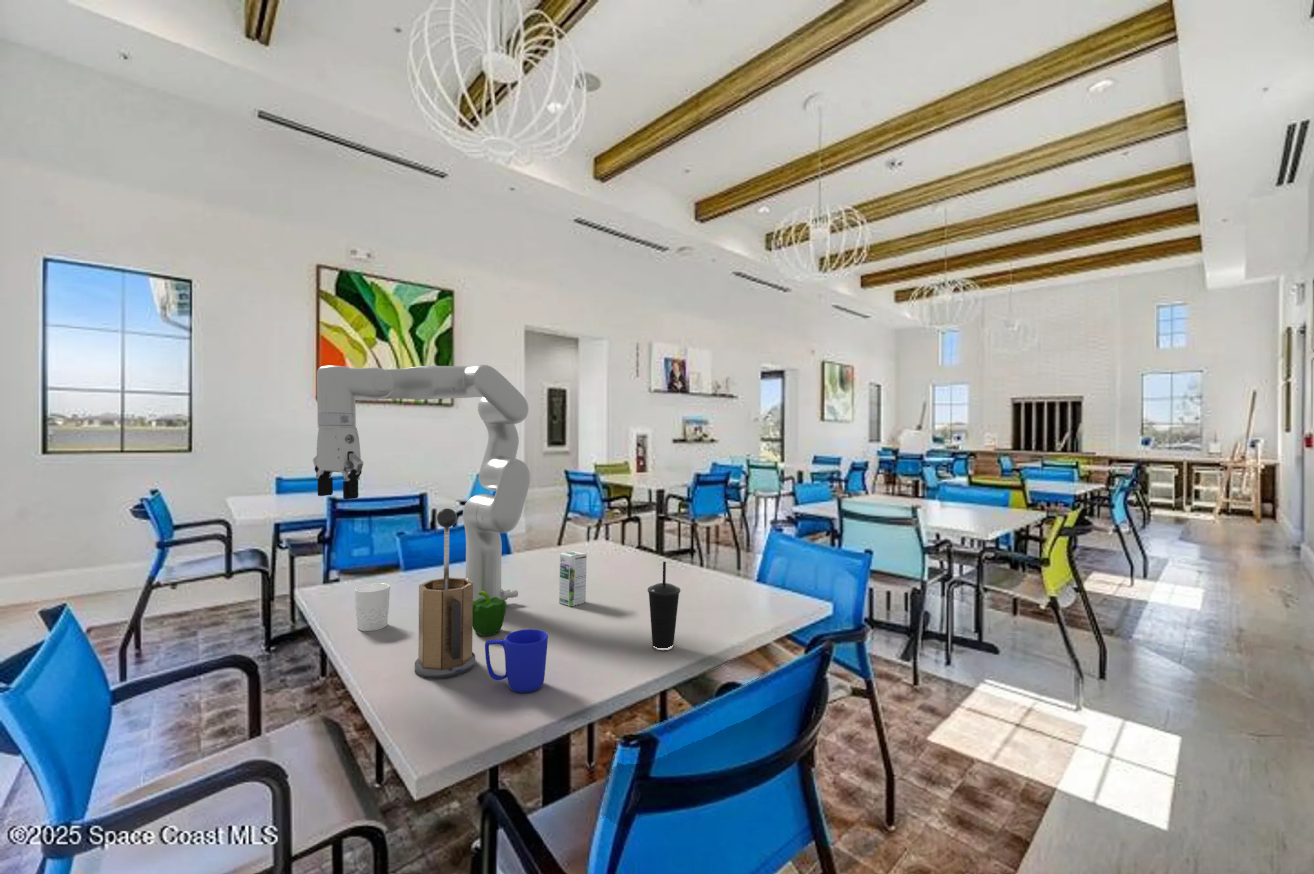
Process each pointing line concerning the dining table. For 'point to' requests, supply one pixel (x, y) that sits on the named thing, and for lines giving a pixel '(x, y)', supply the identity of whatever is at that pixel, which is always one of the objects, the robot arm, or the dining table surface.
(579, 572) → the syrup box
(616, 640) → the dining table surface
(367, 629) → the white cup
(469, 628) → the tan octagonal hollow container
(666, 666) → the dining table surface
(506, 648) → the mug
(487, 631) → the bell pepper
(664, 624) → the drinking cup
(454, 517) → the plunger
